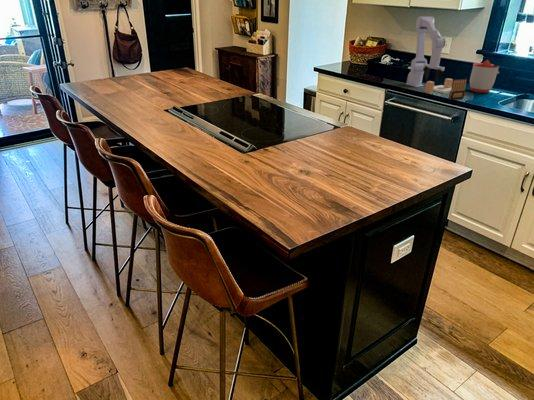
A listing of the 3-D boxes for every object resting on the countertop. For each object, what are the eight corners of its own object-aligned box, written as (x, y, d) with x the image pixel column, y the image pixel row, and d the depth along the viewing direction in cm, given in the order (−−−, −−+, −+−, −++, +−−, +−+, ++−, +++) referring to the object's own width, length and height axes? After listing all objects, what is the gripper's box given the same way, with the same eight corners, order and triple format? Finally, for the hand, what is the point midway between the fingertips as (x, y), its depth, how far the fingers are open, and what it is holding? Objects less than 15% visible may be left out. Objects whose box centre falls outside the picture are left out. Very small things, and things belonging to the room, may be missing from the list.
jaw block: (424, 92, 275) (426, 81, 271) (428, 91, 276) (430, 81, 273) (429, 93, 272) (431, 82, 269) (432, 92, 274) (434, 82, 270)
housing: (427, 89, 282) (430, 78, 279) (441, 87, 289) (443, 76, 286) (444, 93, 272) (446, 82, 269) (457, 91, 279) (460, 80, 276)
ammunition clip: (461, 97, 264) (465, 78, 258) (463, 98, 262) (468, 79, 257) (448, 99, 260) (452, 79, 254) (450, 99, 259) (454, 80, 253)
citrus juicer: (499, 94, 275) (508, 62, 266) (474, 93, 274) (482, 62, 265) (486, 88, 289) (494, 58, 280) (462, 88, 288) (469, 57, 279)
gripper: (421, 57, 268) (417, 78, 274) (441, 60, 257) (436, 83, 263) (429, 56, 271) (424, 77, 277) (448, 59, 260) (443, 82, 267)
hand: (431, 80), depth 270 cm, fingers open, 7 cm apart
